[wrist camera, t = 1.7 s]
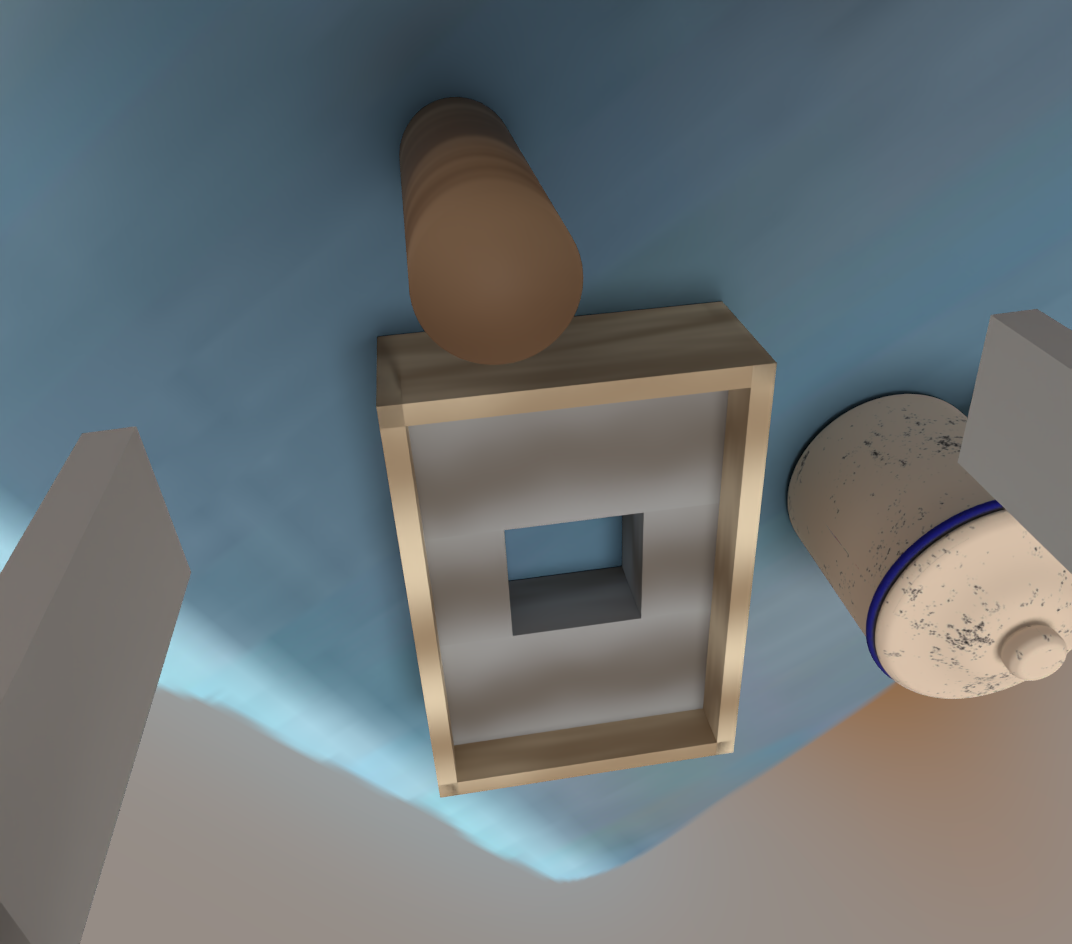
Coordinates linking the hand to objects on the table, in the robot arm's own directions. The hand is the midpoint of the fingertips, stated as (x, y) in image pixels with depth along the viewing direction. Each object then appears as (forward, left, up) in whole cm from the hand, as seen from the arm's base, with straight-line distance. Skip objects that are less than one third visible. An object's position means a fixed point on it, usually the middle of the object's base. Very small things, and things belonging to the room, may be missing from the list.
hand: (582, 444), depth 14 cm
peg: (0, -1, -19) cm, 19 cm away
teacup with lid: (+14, +18, -19) cm, 29 cm away
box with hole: (+15, +2, -19) cm, 24 cm away
